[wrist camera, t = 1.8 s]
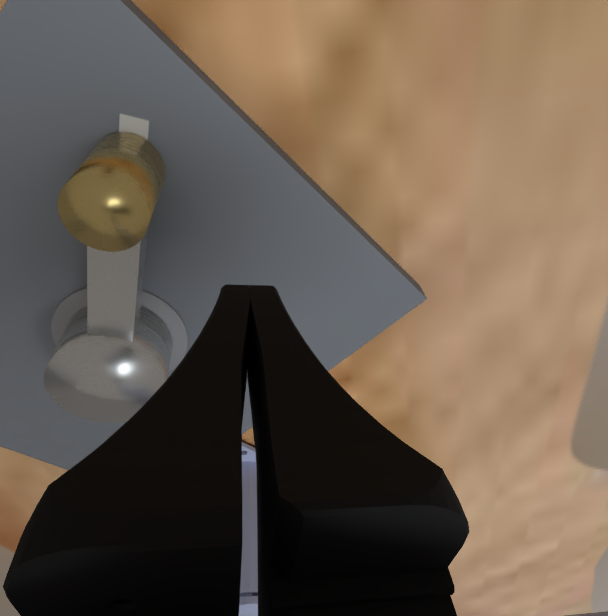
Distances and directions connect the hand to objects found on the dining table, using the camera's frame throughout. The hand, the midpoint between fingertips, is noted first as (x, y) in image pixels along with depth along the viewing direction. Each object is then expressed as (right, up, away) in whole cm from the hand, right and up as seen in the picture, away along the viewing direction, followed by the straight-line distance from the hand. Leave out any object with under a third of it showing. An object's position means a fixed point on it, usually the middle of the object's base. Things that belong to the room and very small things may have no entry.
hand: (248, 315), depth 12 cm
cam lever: (-7, +2, +8) cm, 10 cm away
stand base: (-8, 0, +11) cm, 14 cm away
